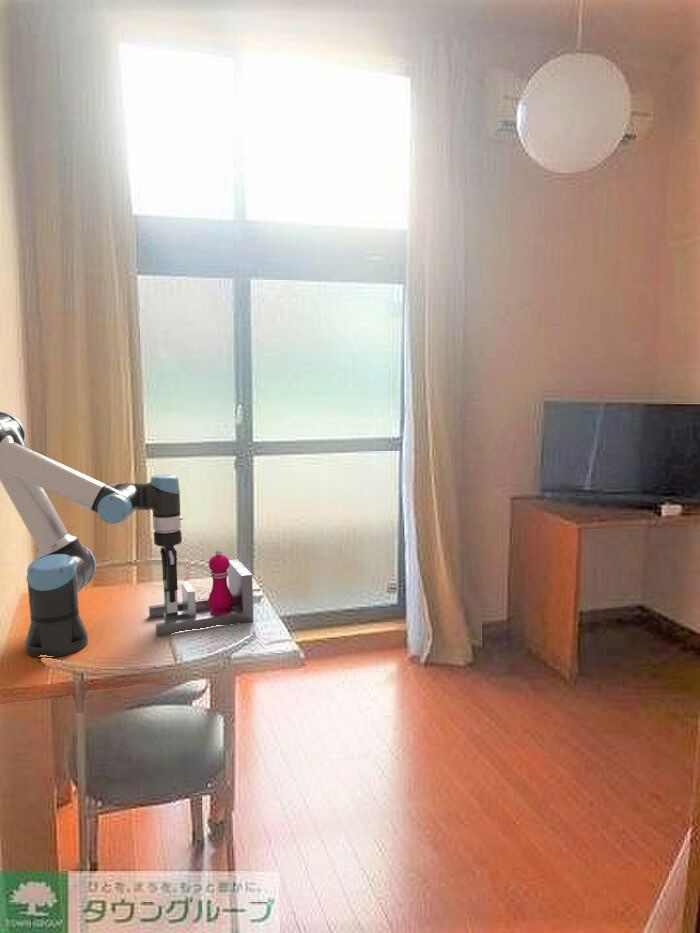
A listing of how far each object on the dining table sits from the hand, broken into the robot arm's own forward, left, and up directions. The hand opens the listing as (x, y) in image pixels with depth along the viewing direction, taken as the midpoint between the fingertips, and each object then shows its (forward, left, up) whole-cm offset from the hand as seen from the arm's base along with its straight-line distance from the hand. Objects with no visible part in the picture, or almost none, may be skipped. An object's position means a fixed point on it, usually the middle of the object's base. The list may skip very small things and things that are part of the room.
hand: (171, 609), depth 193 cm
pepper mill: (+14, 0, -4) cm, 15 cm away
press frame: (+8, 0, -4) cm, 9 cm away
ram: (+2, 0, -4) cm, 5 cm away
